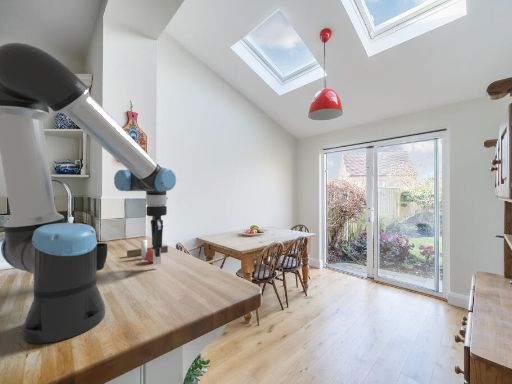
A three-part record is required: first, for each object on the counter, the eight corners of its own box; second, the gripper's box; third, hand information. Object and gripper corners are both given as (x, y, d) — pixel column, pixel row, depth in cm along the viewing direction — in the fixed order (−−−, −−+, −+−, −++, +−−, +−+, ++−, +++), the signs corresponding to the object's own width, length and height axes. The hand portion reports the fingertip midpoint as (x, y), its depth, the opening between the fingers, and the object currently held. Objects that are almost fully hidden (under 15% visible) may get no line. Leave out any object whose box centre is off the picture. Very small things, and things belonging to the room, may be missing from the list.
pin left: (147, 259, 108) (147, 240, 108) (141, 259, 107) (141, 241, 106) (146, 257, 110) (146, 239, 110) (141, 258, 109) (141, 240, 108)
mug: (107, 262, 104) (106, 240, 103) (107, 269, 94) (107, 246, 94) (84, 265, 99) (83, 242, 99) (82, 273, 89) (81, 248, 89)
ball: (158, 252, 108) (161, 263, 105) (144, 255, 105) (146, 266, 102) (159, 244, 105) (162, 255, 101) (145, 247, 101) (147, 259, 98)
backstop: (167, 252, 120) (167, 246, 120) (127, 257, 110) (127, 251, 110) (166, 251, 121) (166, 245, 121) (127, 256, 112) (127, 250, 112)
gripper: (170, 206, 91) (170, 266, 91) (163, 204, 102) (163, 258, 102) (148, 207, 87) (149, 270, 87) (144, 205, 98) (144, 261, 98)
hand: (156, 263), depth 95 cm, fingers closed
